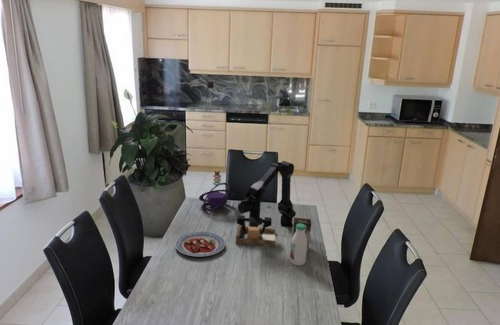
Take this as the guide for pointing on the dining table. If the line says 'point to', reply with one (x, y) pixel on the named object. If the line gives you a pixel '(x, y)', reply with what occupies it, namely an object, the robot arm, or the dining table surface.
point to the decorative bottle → (216, 194)
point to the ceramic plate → (200, 244)
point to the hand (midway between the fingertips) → (253, 234)
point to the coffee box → (307, 230)
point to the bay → (266, 239)
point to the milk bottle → (298, 246)
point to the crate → (253, 232)
